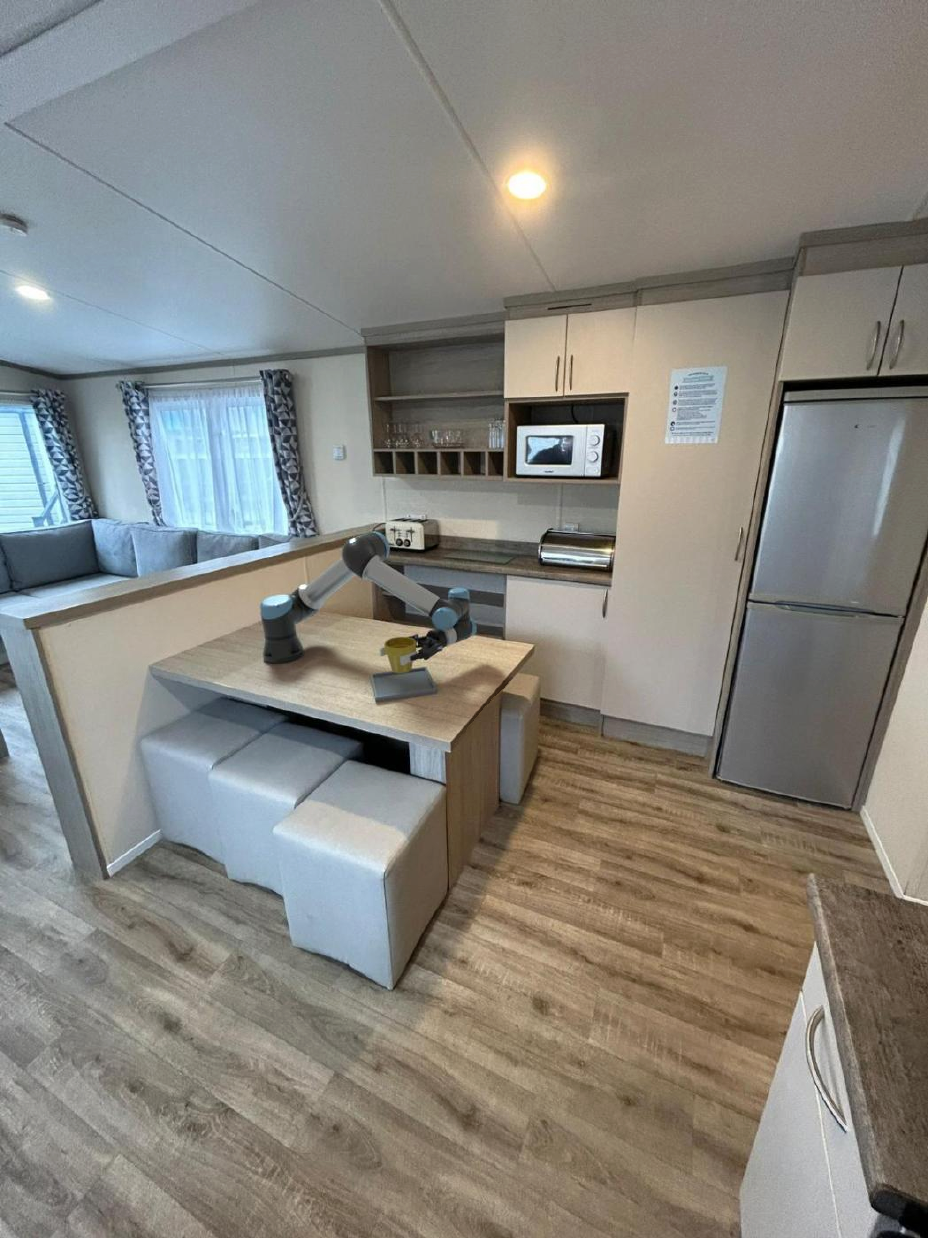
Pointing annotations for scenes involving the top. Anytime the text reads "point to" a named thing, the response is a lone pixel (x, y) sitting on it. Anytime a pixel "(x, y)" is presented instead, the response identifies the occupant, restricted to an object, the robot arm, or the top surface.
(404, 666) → the plant pot
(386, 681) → the charcoal tray
